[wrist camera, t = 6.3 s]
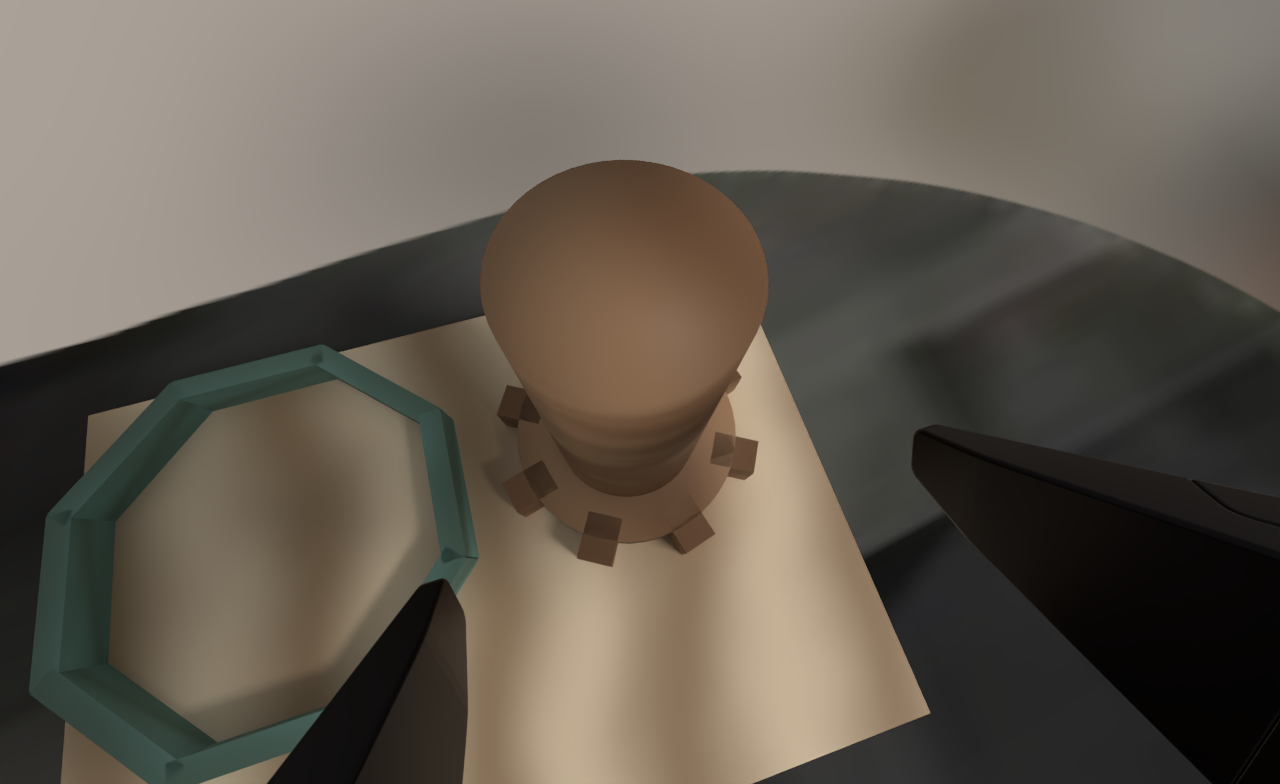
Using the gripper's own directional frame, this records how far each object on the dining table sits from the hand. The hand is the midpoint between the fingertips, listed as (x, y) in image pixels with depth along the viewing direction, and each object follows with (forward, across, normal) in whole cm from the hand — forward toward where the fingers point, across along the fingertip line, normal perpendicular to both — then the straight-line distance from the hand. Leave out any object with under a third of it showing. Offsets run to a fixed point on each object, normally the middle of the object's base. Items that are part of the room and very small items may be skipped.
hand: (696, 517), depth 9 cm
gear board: (+9, +7, +7) cm, 13 cm away
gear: (+10, 0, +4) cm, 10 cm away
